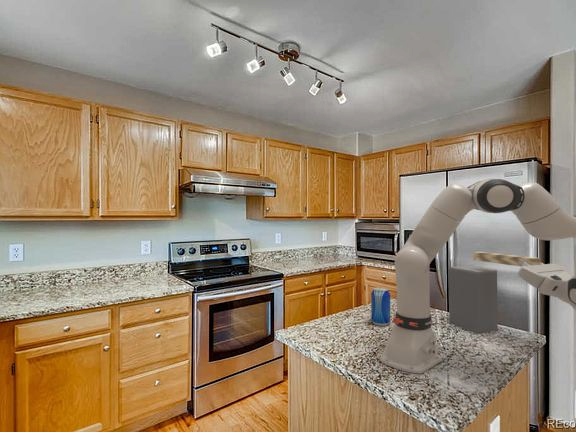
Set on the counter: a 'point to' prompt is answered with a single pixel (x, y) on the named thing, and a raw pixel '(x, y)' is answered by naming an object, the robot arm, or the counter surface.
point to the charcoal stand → (473, 298)
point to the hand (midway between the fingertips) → (524, 260)
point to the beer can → (380, 306)
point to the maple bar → (504, 258)
